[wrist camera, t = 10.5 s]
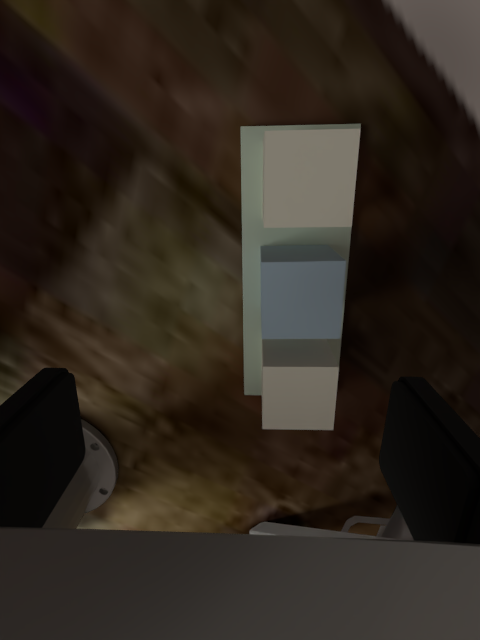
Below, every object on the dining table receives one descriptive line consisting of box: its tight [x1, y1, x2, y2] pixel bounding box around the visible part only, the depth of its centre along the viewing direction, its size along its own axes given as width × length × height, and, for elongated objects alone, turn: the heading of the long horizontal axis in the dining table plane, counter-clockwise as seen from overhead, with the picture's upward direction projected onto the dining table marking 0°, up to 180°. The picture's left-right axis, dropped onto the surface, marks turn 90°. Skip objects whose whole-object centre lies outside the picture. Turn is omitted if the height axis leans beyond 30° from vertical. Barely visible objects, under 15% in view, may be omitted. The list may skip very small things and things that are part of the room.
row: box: [241, 124, 361, 430], centre depth 26 cm, size 21×8×7 cm, turn 1°
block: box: [260, 245, 346, 339], centre depth 25 cm, size 5×5×6 cm
